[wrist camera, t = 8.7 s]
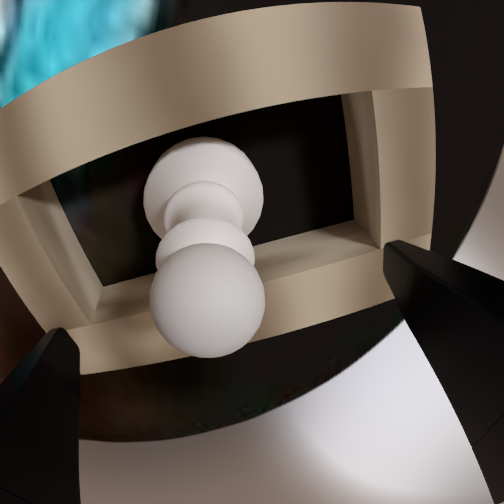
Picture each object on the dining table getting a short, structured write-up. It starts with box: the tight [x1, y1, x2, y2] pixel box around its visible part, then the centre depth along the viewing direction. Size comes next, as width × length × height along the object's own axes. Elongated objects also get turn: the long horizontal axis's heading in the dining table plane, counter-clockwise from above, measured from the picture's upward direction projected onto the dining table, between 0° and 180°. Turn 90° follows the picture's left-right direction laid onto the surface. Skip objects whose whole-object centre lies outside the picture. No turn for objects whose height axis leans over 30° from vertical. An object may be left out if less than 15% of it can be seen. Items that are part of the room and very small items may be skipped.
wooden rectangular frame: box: [0, 2, 436, 375], centre depth 13 cm, size 20×14×3 cm
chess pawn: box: [143, 137, 265, 358], centre depth 10 cm, size 5×5×9 cm
